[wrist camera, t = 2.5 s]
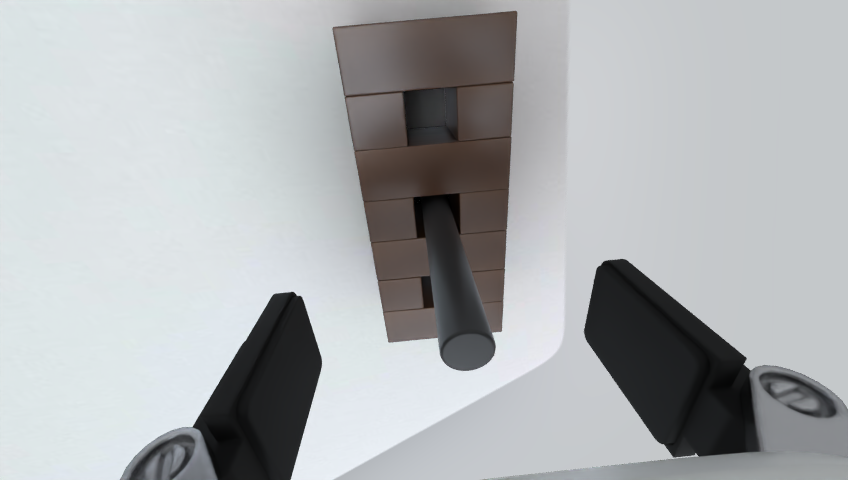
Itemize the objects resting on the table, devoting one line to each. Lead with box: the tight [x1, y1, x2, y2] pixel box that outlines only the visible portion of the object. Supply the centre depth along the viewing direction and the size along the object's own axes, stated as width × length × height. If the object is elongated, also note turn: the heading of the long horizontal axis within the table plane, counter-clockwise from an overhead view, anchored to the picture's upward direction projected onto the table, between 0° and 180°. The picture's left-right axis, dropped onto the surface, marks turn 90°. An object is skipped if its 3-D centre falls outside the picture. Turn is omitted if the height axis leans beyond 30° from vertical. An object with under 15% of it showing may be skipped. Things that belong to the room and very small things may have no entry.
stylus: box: [421, 194, 496, 371], centre depth 15 cm, size 2×2×14 cm
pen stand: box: [333, 11, 517, 342], centre depth 19 cm, size 17×7×5 cm, turn 4°
